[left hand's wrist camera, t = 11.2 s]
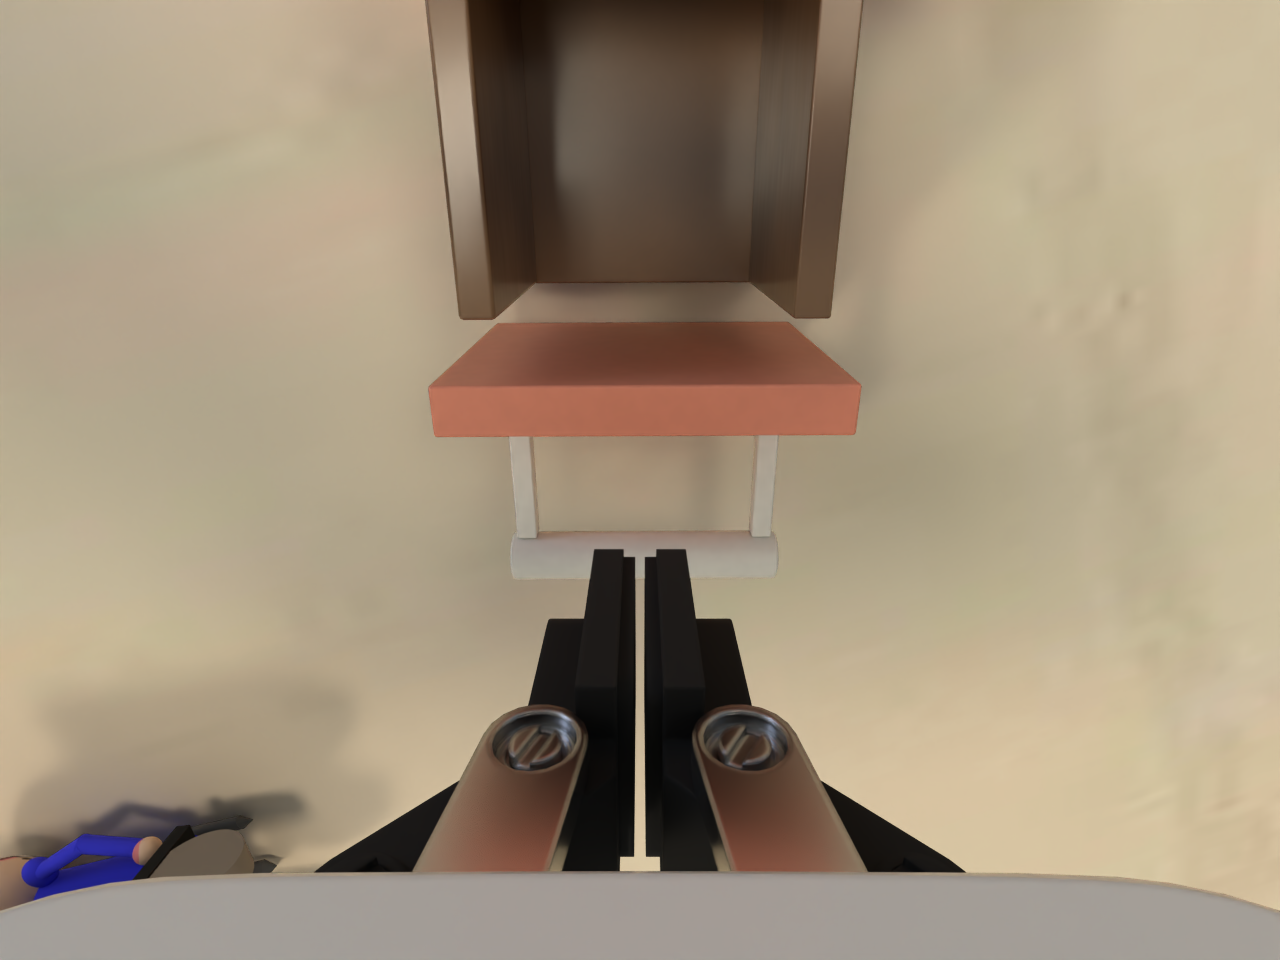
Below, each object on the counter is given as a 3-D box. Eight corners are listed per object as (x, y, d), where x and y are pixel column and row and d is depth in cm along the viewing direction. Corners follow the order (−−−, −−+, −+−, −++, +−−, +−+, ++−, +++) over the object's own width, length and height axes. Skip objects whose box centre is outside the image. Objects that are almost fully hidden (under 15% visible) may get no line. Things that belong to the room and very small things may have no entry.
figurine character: (284, 751, 31) (-54, 830, 30) (200, 905, 23) (-245, 1013, 23) (335, 858, 33) (23, 934, 32) (273, 1029, 26) (-129, 1130, 25)
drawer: (773, 520, 25) (828, 654, 18) (513, 521, 25) (462, 656, 18) (853, -475, 15) (1048, -1086, 8) (428, -474, 15) (234, -1083, 8)
